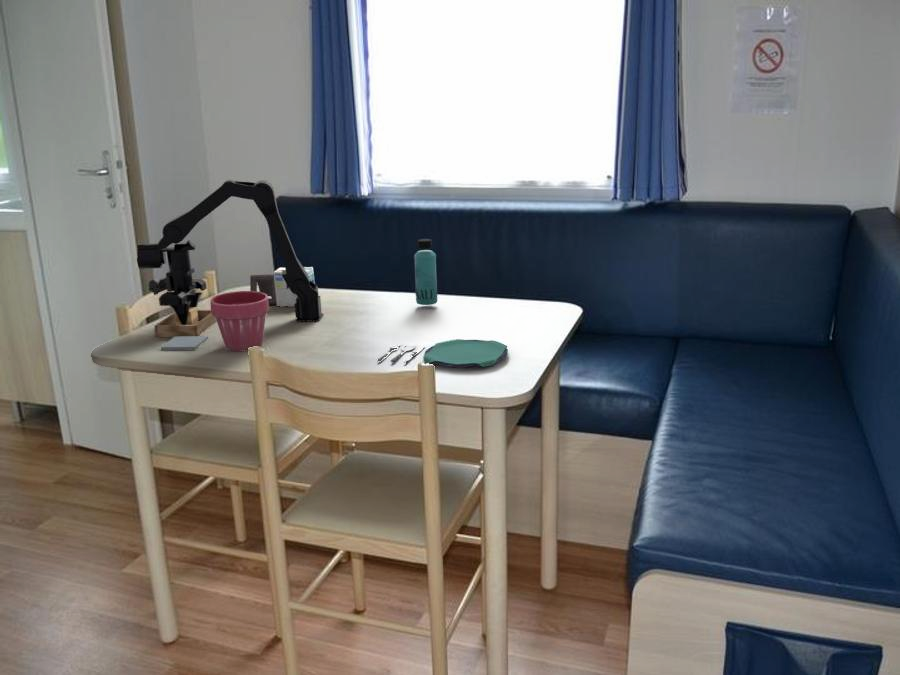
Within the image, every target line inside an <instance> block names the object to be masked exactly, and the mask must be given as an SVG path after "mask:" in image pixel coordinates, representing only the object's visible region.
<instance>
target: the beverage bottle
mask: <svg viewBox="0 0 900 675" xmlns="http://www.w3.org/2000/svg"><path fill="white" fill-rule="evenodd" d="M432 243H433V242H432V239H429V238H421V239H418V240H417V248H418V249H422V250H418V251H416V253H415V254H414V256H413V257H414V270H413V271H414V280H415V282H414V286H415V293H414V294H415V302H416V304H417V305H421V306H431V305H435V304H437V303H438V280H437V254H436V253H435V252H434V251H433V250H431V249H429V248H432V247H433V244H432Z"/></svg>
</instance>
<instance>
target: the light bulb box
mask: <svg viewBox="0 0 900 675" xmlns="http://www.w3.org/2000/svg"><path fill="white" fill-rule="evenodd" d="M303 267H304V269H305V271H306V272H307V274H308V275H309V278H310V280H311V281H312V282H313V283H314V284H316V282H315V275H314V274H315V273H314V267H313V266H310V267H309V266H303ZM282 270H286V269H285V267H278V268H277V269H276V270H275V271H273V274H274V283H275V292H276V302H277V305H276V307H277V306H280V308H281V307H284V308H285V306H288V307H292V308H293V307H295V305H294V304H295V303H296V298H297V295H296V294H293V293H292V292H291V290H290V288H288V289H287V285H286V282H285V280H284V279H283V277H282Z"/></svg>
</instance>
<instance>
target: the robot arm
mask: <svg viewBox="0 0 900 675" xmlns="http://www.w3.org/2000/svg"><path fill="white" fill-rule="evenodd" d="M231 197H234V198H239V199H244V200H251V201H252V200H253V202H254V203H255V204H256V207H257V208H258V209H259V211H260V213H261V214H262V215H263V217H264V218H265V220H266V223H267V226H268V228H269V230H270V233H271V234H272V237H273V240H274V242H275V244H276V247H277V249H278V252H279V254H280V257H281V260H282V262H283V264H284V268H285V269H286V270H282V277H283V279H284V280H285V282H286V285H287V289H288V288H290V290H291V292H292V293H293V294H296V295H297V298H296V303H295V304H294V305H295V306H294V313H295V314H294V315H295V322H319V321H320V320H321V319H322V318H323V317H324V313H323V312H322V303H321V302H322V301H321V300H322V299H321V295H319V287H318V285H317V284H316V283H315V284H314V283H313V282H312V281H311V280H310V278H309V275H308V274H307V272H306V271H305V269H304V267H305V266H303V265H302V263H301V261H300V260H299V259H298V257H297V255H296V253H295V249H294V247H293V245H292V242H291V240H290V238H289V235H288V233H287V230H286V227H285V225H284V223H283V220H282V217H281V214H280V213H279V209H278V205H277V204H278V203H277V199H276V193H275V189H274V186H273V184H272V183H271V182H269V181H267V180H263V179H262V180H258V181H255V182H252V181H238V180H233V179H227V180H225V181H224V182H223V184H221V185H220V186H219V187H217V188H216V189H215V190H214V191H213V192H211V193H210V194H208V196H206V197H205V198H204V199H203V200H201V201H200V202H199V203H197V204H196V205H195V206H194V207H192V208H191V209H190V210H187V211H186V212H183V213H182V214H180V215H177V216H176V217H173V218H171V219H170V220H169V221H168V222H167V223H166V224H165V225H164V226H163V227H162V238H160V239H159V240H158V242H153V243H143V242H141V243H138V244H137V246H136V247H137V248H136V249H137V253H136V254H137V257H136V263H137V267H138V269H139V270H151V269H153V270H154V269H163V265H166V263H167V262H168V271H167V272H165V277H162V278H160V279H158V278H153V279H151V280H149V281H148V285H147V286H148V291H149V292H151V293H153V295H154V296H156V295H158V294H159V293H162V292H164V291H165V292H164V293H162V294H161V295H160V296H159V297H158V303H159V307H160V306H161V307H163V306H164V307H166V306H167V307H171V308H173V310H174V312H176V314H177V316H178V318H179V320H180V322H181V324H182V325H186V323H187V318H188V313H189V308H190V307H197V308H198V305H199V302H200V299H201V297H202V296H203V291H205V290H206V289H207V282H206V281H205V279H203V278H193V274H194V273H195V268H193V267H192V264H191V263H192V262H191V255H190V251H195V250H196V248H197V245H196V244H195V243H193V242H192V241H191V240H190V239H188V240H187V241H186V242H185V243H182V242H183V240H184V239H185V238H186V237H187V236H188V235H189V234H190V232H192V230H193V229H194V228H195V227H196V226H197V225H198V224H199V222H200V221H202V220H203V219H204V218H206V217H207V216H208V215H210V214H211V213H212V212H213V211H215V210H216V209H217V208H219V207H220V206H221V205H222V204H223V203H225V202H226V201H227V200H228V199H230V198H231ZM172 244H173V245H174V246H171V247H169V246H170V245H172ZM197 289H198V290H199V289H200V291H202V292H198V290H197Z"/></svg>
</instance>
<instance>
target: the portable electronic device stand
mask: <svg viewBox="0 0 900 675" xmlns="http://www.w3.org/2000/svg"><path fill="white" fill-rule="evenodd" d="M249 276H250V277H249V278H250V279H249V280H250V288H249V289H250V290H249V291H257V292H262V293H265V294H266V295H267V296H268V302H269V306H277V302H276V292H275V283H274V273H271V274H270V273H269V274H267V273H266V274H251V275H249ZM269 297H270V298H269Z"/></svg>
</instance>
